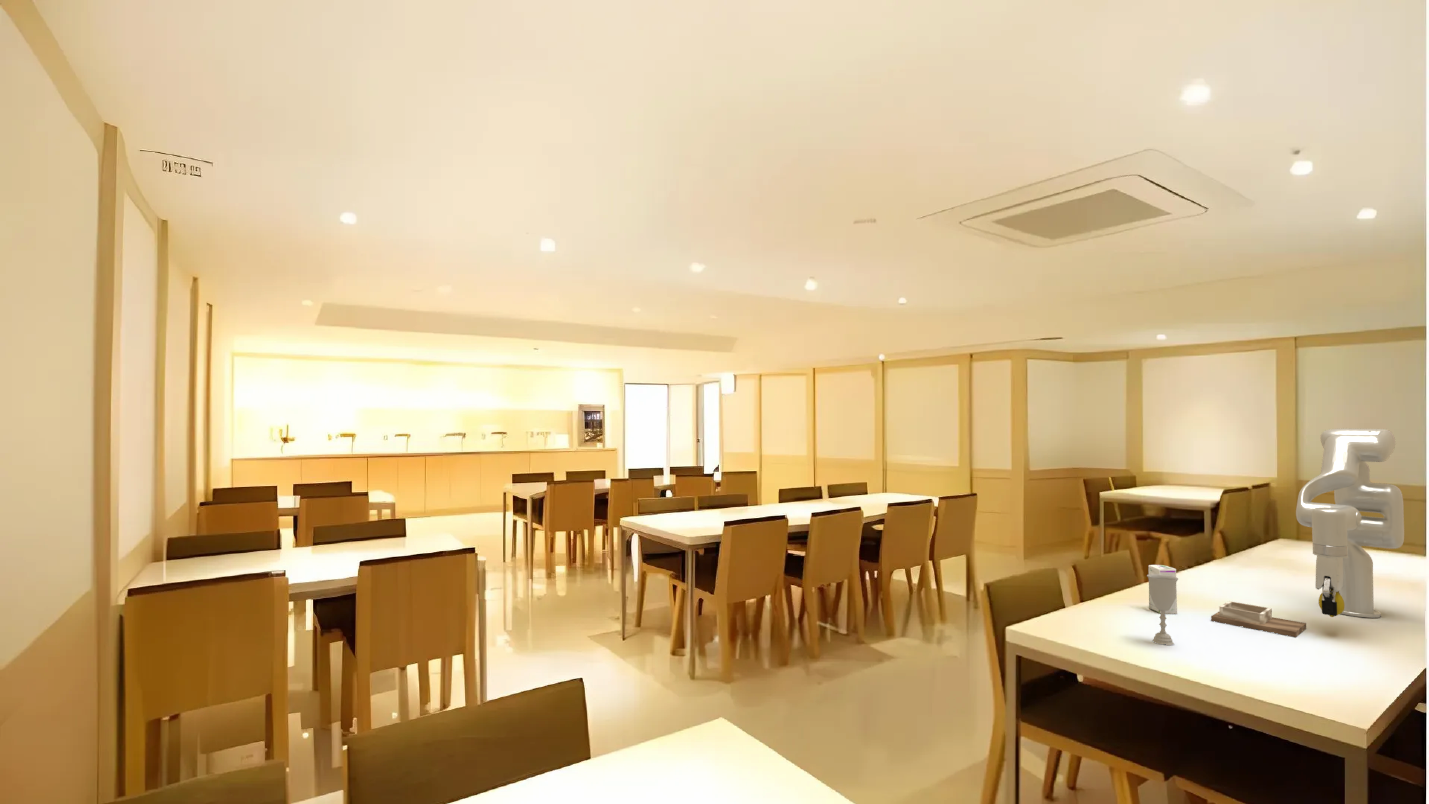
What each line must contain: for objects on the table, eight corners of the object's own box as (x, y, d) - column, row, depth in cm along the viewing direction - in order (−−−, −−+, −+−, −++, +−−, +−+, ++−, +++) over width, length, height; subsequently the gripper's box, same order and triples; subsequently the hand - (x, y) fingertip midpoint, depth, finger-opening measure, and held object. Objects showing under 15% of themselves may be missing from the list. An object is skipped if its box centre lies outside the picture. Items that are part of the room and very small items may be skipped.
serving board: (1224, 613, 216) (1224, 599, 216) (1306, 628, 200) (1305, 613, 200) (1211, 620, 207) (1211, 606, 207) (1295, 637, 191) (1295, 621, 192)
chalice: (1151, 644, 184) (1150, 578, 184) (1144, 637, 190) (1144, 573, 191) (1182, 647, 181) (1181, 580, 182) (1175, 640, 188) (1174, 575, 188)
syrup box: (1178, 614, 214) (1177, 568, 214) (1159, 613, 214) (1158, 568, 215) (1166, 609, 220) (1165, 564, 220) (1148, 609, 220) (1147, 564, 220)
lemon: (1349, 620, 191) (1349, 592, 191) (1327, 619, 193) (1326, 591, 193) (1336, 614, 197) (1335, 587, 197) (1314, 613, 198) (1313, 586, 198)
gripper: (1318, 544, 203) (1320, 603, 203) (1306, 553, 192) (1308, 616, 192) (1352, 547, 197) (1354, 609, 197) (1342, 557, 186) (1343, 622, 186)
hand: (1331, 611), depth 195 cm, fingers closed on lemon, 5 cm apart
